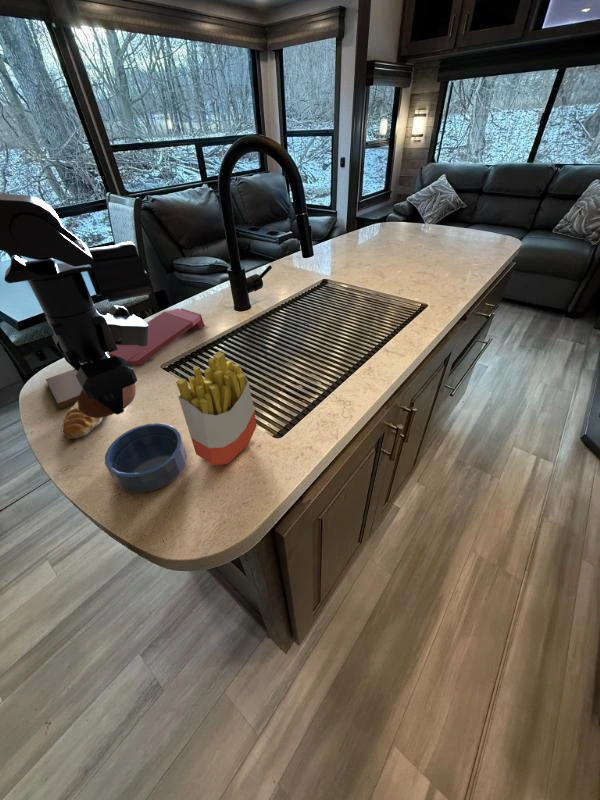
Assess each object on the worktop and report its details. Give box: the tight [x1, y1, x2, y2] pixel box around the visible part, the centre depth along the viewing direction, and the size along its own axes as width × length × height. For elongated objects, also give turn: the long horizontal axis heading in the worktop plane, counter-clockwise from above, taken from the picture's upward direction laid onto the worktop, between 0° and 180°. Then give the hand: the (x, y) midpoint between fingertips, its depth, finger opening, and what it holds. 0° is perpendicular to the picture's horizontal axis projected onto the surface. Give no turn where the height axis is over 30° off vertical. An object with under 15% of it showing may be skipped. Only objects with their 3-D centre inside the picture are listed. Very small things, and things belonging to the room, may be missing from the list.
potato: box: [78, 383, 137, 418], centre depth 52 cm, size 7×9×6 cm
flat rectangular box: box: [45, 368, 82, 409], centre depth 76 cm, size 12×12×2 cm
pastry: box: [62, 401, 104, 440], centre depth 64 cm, size 9×7×4 cm
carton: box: [109, 308, 206, 366], centre depth 92 cm, size 12×5×25 cm
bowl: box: [104, 422, 188, 494], centre depth 56 cm, size 12×12×4 cm
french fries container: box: [175, 350, 258, 466], centre depth 54 cm, size 5×11×18 cm, turn 146°
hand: (112, 401), depth 53 cm, fingers closed on potato, 7 cm apart
